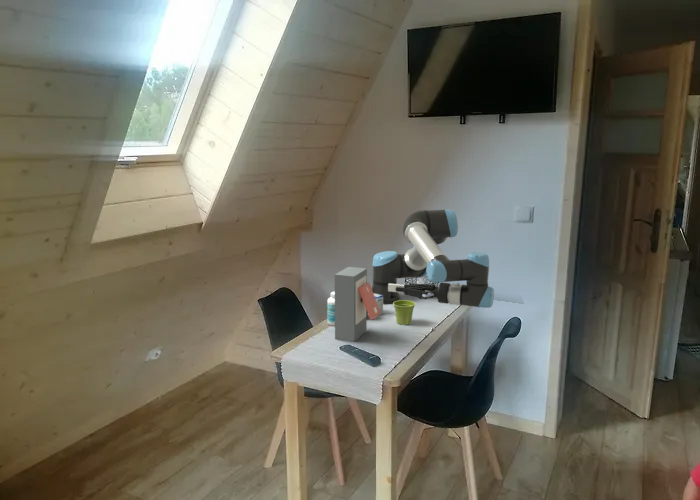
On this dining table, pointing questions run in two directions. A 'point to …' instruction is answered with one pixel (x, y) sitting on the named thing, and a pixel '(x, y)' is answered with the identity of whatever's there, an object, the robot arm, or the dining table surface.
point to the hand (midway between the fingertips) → (388, 287)
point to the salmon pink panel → (369, 300)
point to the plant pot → (404, 311)
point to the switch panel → (350, 304)
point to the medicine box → (379, 301)
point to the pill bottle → (331, 309)
